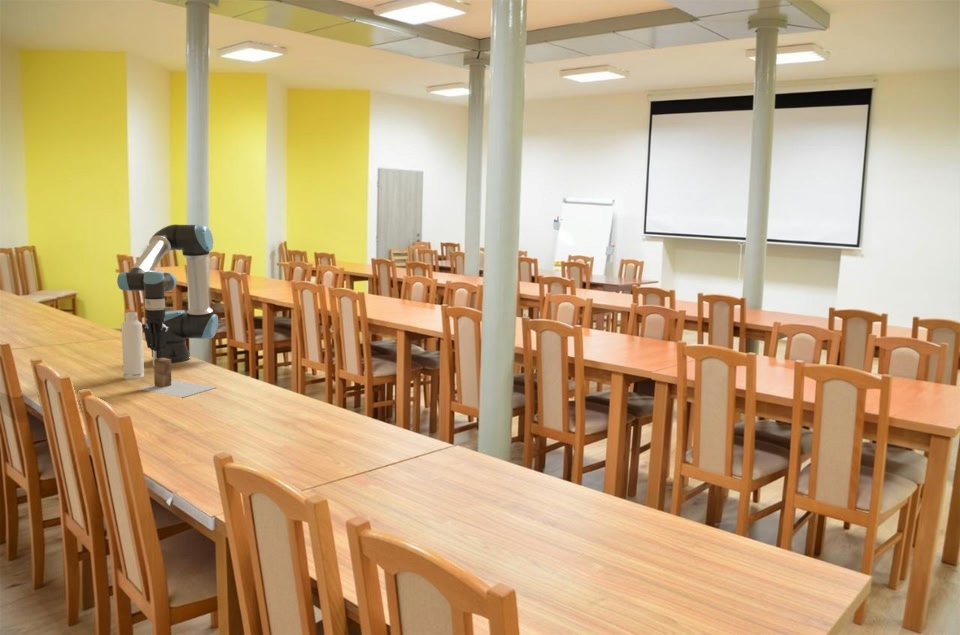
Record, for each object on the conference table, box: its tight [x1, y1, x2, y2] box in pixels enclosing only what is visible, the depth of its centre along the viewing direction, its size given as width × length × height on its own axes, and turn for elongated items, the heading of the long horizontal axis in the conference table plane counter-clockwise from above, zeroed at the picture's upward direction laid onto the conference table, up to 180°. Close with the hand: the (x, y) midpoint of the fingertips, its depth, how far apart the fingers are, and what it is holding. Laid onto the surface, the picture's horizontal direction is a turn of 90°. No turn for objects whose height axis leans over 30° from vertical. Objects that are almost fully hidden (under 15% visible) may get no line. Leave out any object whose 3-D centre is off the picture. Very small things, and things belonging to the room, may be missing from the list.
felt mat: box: [138, 379, 217, 399], centre depth 307 cm, size 18×24×1 cm
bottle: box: [121, 311, 145, 380], centre depth 322 cm, size 8×8×28 cm
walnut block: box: [153, 358, 172, 388], centre depth 309 cm, size 4×4×11 cm
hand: (157, 365), depth 310 cm, fingers closed
